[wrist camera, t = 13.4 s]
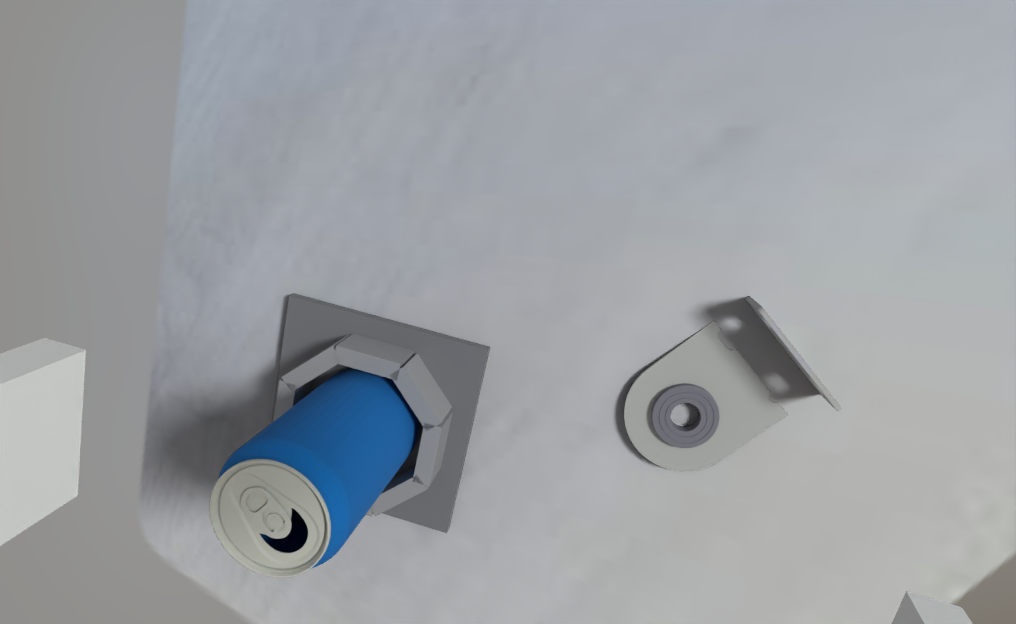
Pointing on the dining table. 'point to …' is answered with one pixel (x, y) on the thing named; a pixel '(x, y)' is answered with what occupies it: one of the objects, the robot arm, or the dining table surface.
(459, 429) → the cup holder
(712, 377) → the bracket
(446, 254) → the dining table surface
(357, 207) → the dining table surface
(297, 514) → the beverage can
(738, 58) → the dining table surface
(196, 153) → the dining table surface
